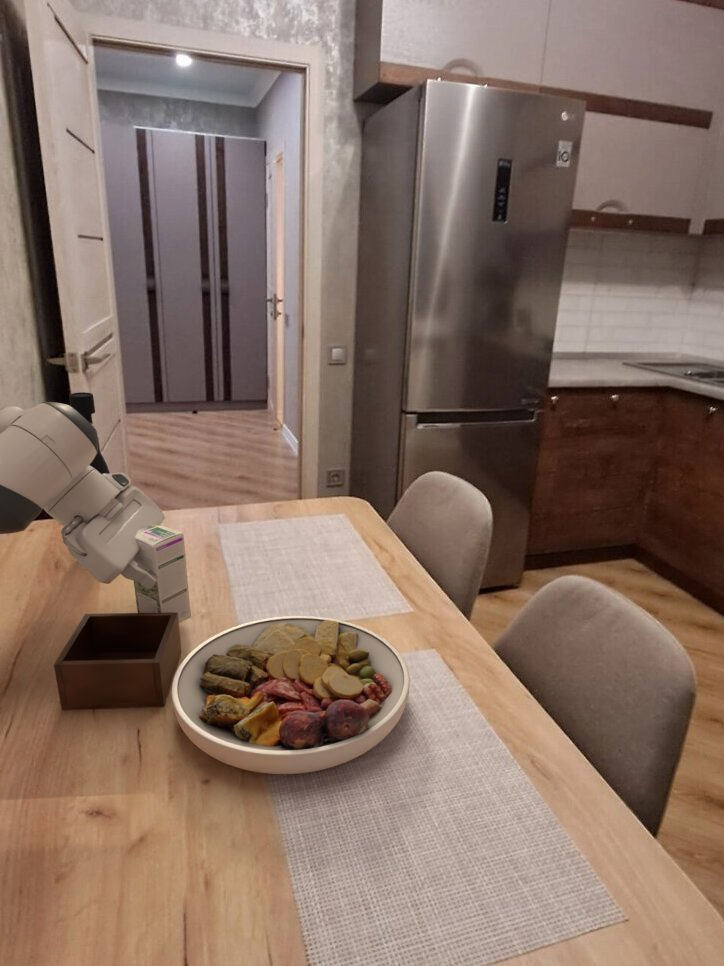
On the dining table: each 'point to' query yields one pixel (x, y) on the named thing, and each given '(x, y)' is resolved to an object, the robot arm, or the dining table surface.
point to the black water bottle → (86, 407)
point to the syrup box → (163, 572)
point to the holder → (119, 661)
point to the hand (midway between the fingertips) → (164, 569)
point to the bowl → (290, 694)
